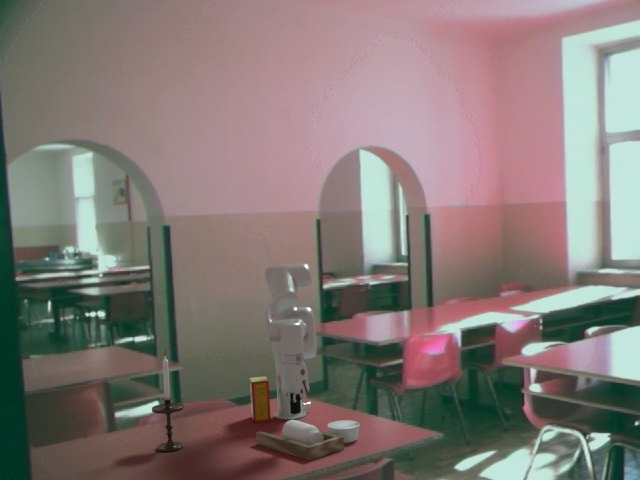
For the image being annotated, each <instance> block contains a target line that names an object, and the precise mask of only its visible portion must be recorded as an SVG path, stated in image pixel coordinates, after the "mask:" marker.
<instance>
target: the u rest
mask: <svg viewBox="0 0 640 480" xmlns="http://www.w3.org/2000/svg"><path fill="white" fill-rule="evenodd" d="M319 432H320V433H322V435H323V441H322V442H318V443H315V444H312V445H308V444H304V443H300V442H297V441H293V440H290V439H286V438H283V437H282V436H278V435H275V434H272V433H267V432H264V431H258V432H255V437H256V445H259V446H261V447H265V448H268V449H271V450H273V451H278V452H281V453H284V454H287V455H291V456H295V457H296V458H300V459H303V460H307V461H313V460H316V459H319V458H323V457H325V456H328V455H331V454H333V453H336V452H339V451H343V450H345V443H344V437H343V436H339V435H335V434H331V433H329V432H326V431H323V430H319Z"/></svg>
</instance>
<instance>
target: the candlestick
mask: <svg viewBox="0 0 640 480" xmlns="http://www.w3.org/2000/svg"><path fill="white" fill-rule="evenodd" d="M167 348H168V347H165V349H164V352H163V356H164V357H163V360H162V373H163V374H162V375H163V377H162V379H163V392H164V397H163V398H162V399H161V401H164V403H161V404H157V405H154V406H152V407H151V412H152V413H153V414H164V415H165V416H166V425H164V428H165V430H166V433H165V435H166V436H167V441H166V442H163V443H160V444H159V445H157V446H156V451H157V452H159V453H171V452H172V453H173V452H177V451H181V450H182V449H184V446H185V445H184V443H183V442H182V441H174V440H173V438H172V437H173V434H174V432H173V431H172V430H173V428H174V425H173V423H172V419H171V414H173V413H177V412H180V411H183V410H184V409H185V404H184V403H181V402H172V401H171V400H174V398H173V397H171V390H170V389H171V388H170V387H171V386H170V376H169V375H170V373H169V370H170V369H169V359H167V356H166V355H167V350H168V349H167Z"/></svg>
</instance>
